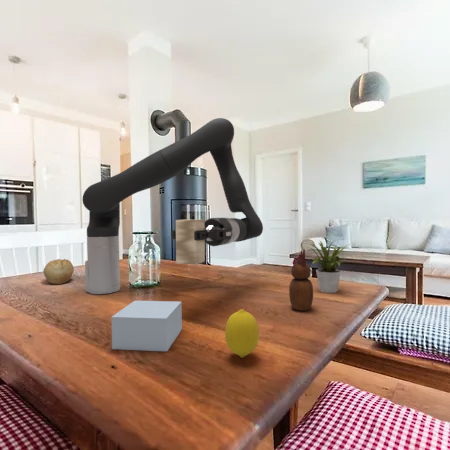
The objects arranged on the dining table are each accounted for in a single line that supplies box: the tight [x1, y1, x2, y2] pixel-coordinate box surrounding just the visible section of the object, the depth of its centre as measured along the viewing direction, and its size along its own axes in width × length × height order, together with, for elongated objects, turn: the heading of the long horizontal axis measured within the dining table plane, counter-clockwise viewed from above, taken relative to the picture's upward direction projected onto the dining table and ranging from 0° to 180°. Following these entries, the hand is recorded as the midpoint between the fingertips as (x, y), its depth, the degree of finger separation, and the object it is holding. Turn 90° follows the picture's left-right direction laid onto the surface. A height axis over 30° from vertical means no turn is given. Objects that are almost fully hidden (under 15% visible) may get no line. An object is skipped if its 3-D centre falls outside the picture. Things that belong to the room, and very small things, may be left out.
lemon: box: [224, 308, 260, 359], centre depth 50 cm, size 6×6×8 cm
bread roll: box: [43, 258, 75, 285], centre depth 109 cm, size 10×15×8 cm, turn 35°
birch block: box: [175, 219, 206, 265], centre depth 71 cm, size 5×5×10 cm
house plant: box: [305, 237, 351, 294], centre depth 92 cm, size 14×14×16 cm
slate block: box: [110, 300, 183, 352], centre depth 58 cm, size 10×10×6 cm
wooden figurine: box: [288, 248, 314, 312], centre depth 75 cm, size 7×6×15 cm
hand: (184, 235), depth 68 cm, fingers closed on birch block, 5 cm apart
